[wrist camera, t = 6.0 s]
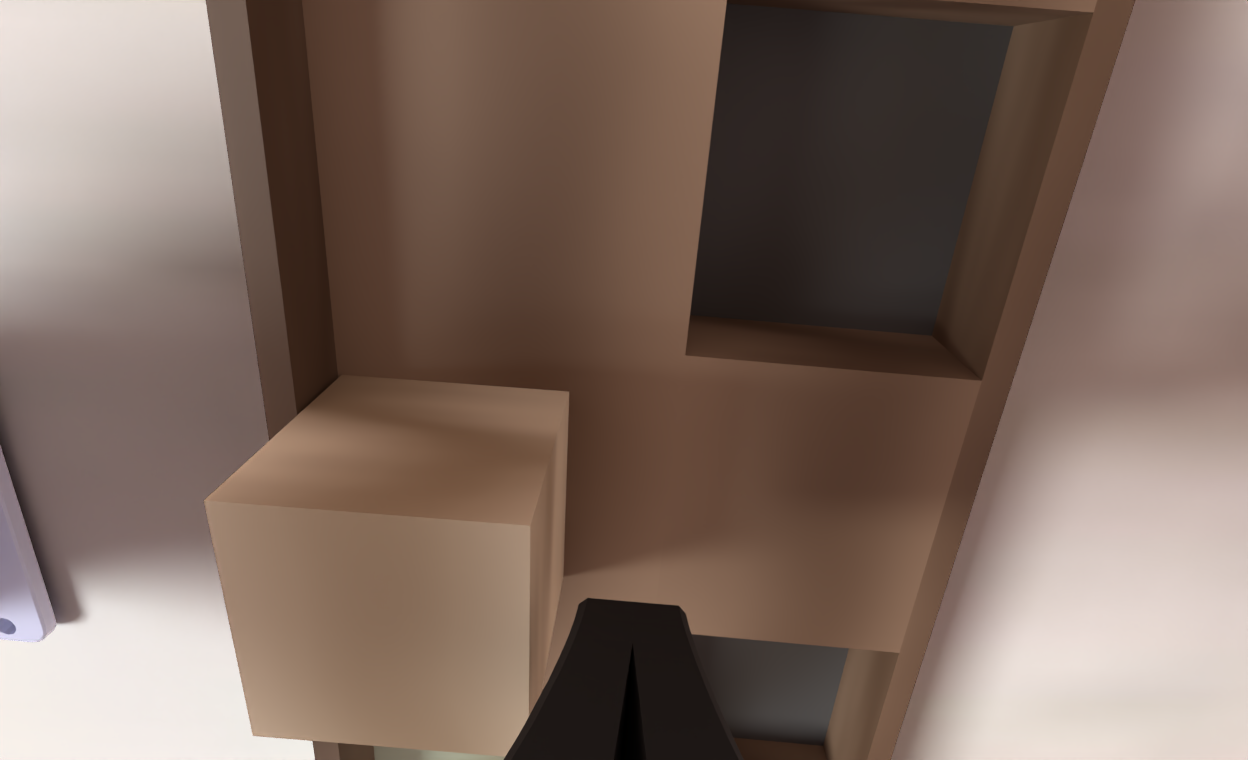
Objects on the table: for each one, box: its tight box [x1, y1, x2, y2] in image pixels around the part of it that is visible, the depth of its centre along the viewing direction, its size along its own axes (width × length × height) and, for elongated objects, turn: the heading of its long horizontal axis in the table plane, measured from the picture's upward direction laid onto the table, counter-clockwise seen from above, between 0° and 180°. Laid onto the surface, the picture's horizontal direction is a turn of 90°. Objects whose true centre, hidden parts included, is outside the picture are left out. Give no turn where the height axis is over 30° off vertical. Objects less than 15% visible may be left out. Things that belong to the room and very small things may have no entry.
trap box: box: [206, 0, 1135, 760], centre depth 13 cm, size 12×26×4 cm, turn 176°
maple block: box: [204, 375, 569, 757], centre depth 11 cm, size 4×4×4 cm
